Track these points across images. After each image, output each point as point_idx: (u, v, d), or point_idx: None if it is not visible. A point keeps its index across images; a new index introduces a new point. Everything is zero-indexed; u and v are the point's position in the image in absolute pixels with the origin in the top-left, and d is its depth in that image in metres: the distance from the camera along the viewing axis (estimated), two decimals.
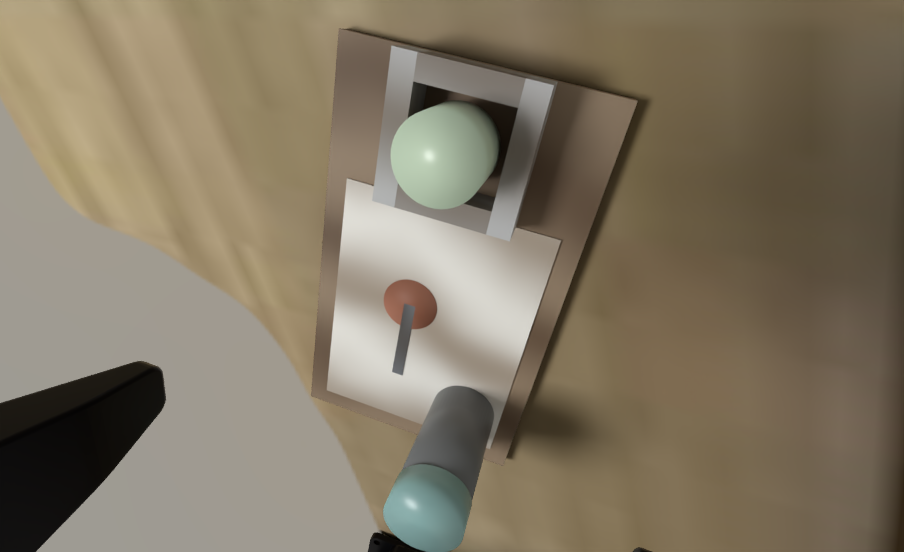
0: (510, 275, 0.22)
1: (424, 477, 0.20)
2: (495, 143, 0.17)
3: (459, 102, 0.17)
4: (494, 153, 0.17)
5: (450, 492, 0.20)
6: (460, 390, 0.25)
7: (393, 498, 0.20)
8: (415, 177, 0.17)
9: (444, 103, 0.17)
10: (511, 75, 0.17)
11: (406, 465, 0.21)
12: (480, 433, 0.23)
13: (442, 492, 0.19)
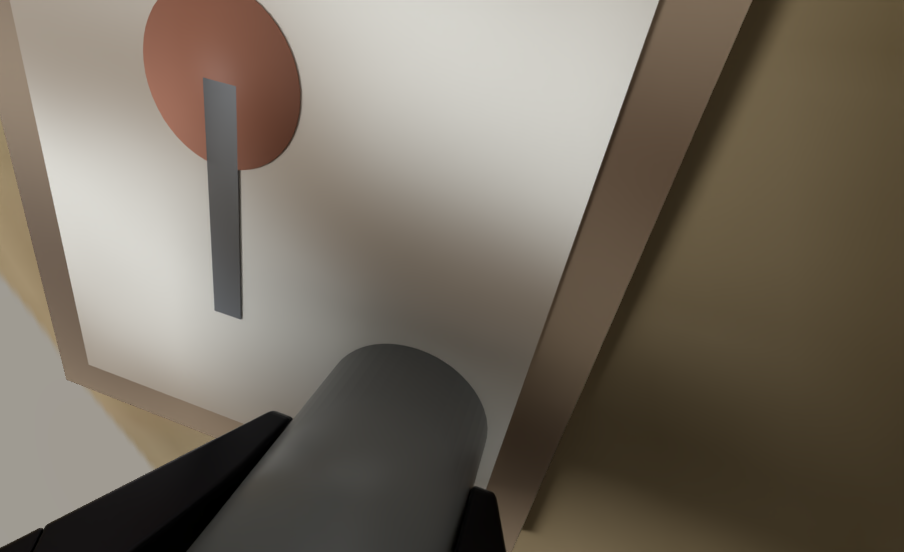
0: None
1: None
2: None
3: None
4: None
5: None
6: (389, 355, 0.09)
7: None
8: None
9: None
10: None
11: None
12: (438, 492, 0.07)
13: None
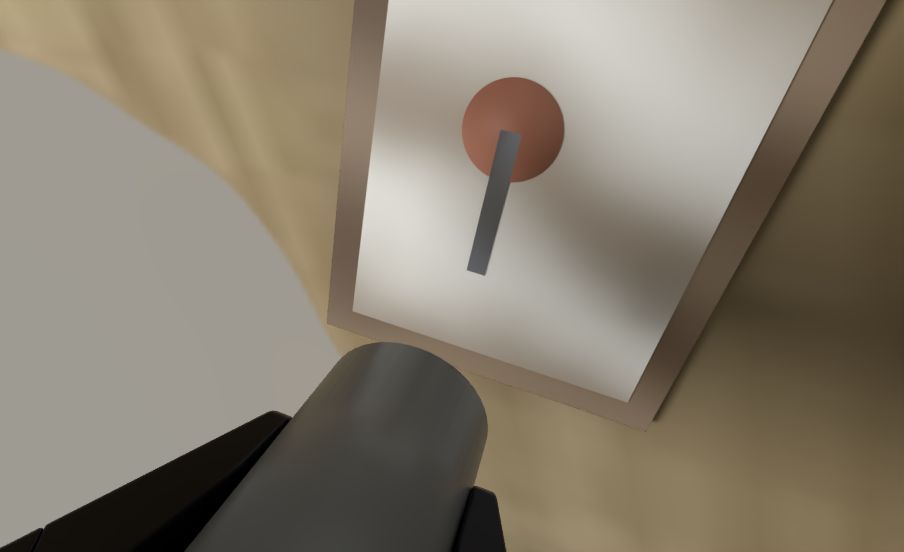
0: (728, 40, 0.11)
1: None
2: None
3: None
4: None
5: None
6: (389, 354, 0.09)
7: None
8: None
9: None
10: None
11: None
12: (438, 491, 0.07)
13: None
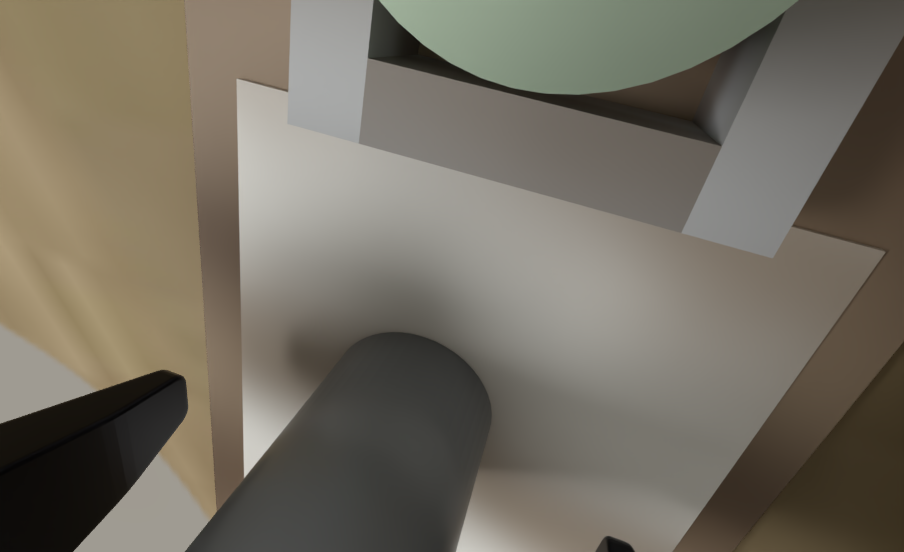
0: (689, 345, 0.08)
1: None
2: None
3: None
4: None
5: None
6: (396, 343, 0.09)
7: None
8: None
9: None
10: None
11: None
12: (445, 470, 0.07)
13: None
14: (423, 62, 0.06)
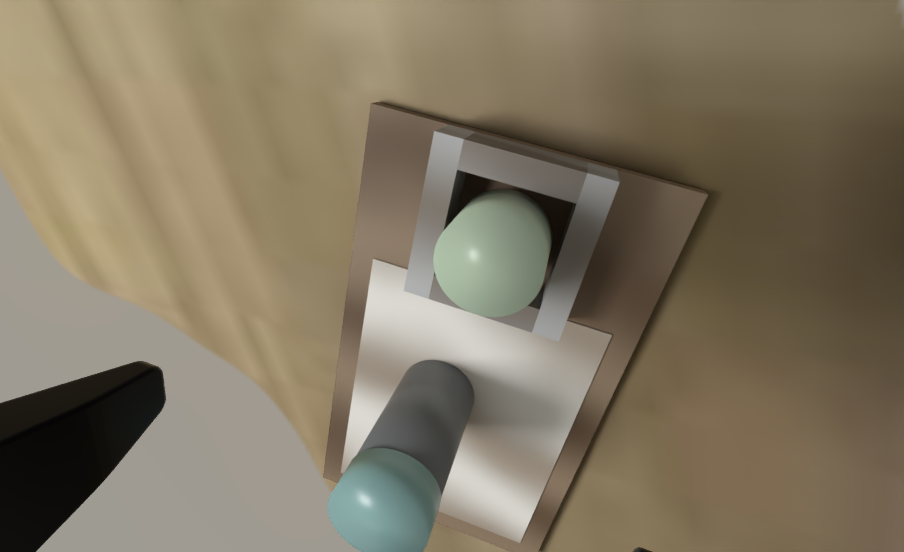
0: (552, 367, 0.20)
1: (379, 463, 0.16)
2: (549, 241, 0.15)
3: (509, 194, 0.15)
4: (549, 253, 0.15)
5: (412, 482, 0.15)
6: (433, 365, 0.21)
7: (339, 490, 0.15)
8: (460, 282, 0.15)
9: (493, 197, 0.15)
10: (570, 169, 0.15)
11: (360, 450, 0.17)
12: (455, 414, 0.19)
13: (401, 482, 0.15)
14: None
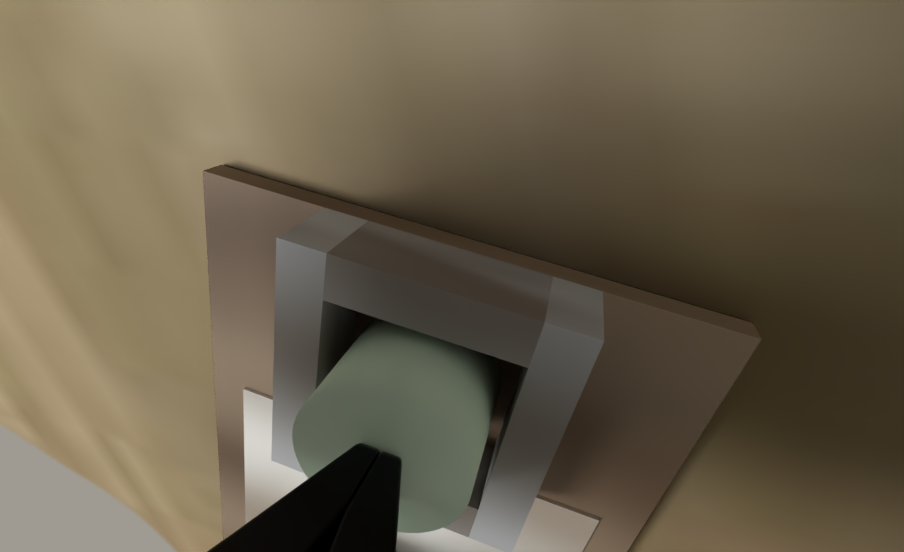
0: None
1: None
2: (491, 398, 0.10)
3: None
4: (489, 422, 0.09)
5: None
6: None
7: None
8: None
9: (396, 332, 0.09)
10: (515, 312, 0.08)
11: None
12: None
13: None
14: None
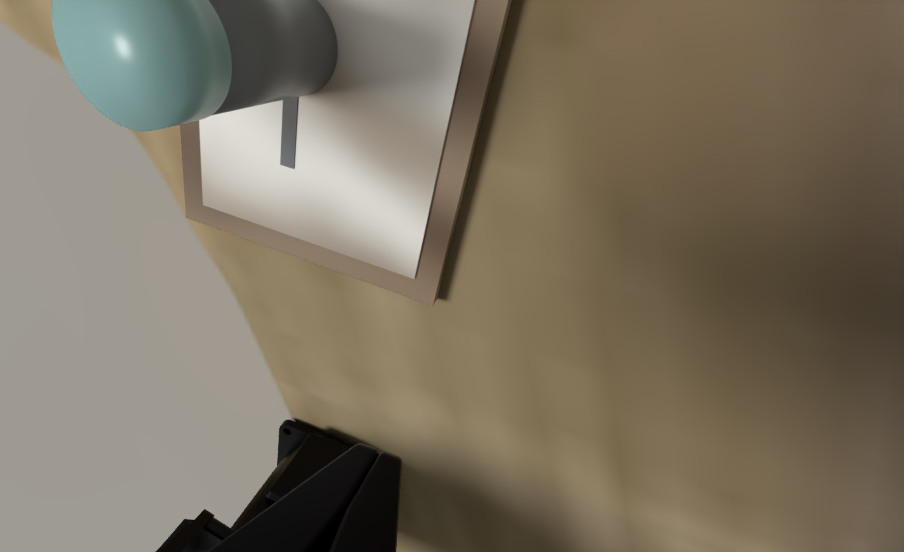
0: None
1: None
2: None
3: None
4: None
5: None
6: None
7: None
8: None
9: None
10: None
11: None
12: (287, 11, 0.14)
13: None
14: None
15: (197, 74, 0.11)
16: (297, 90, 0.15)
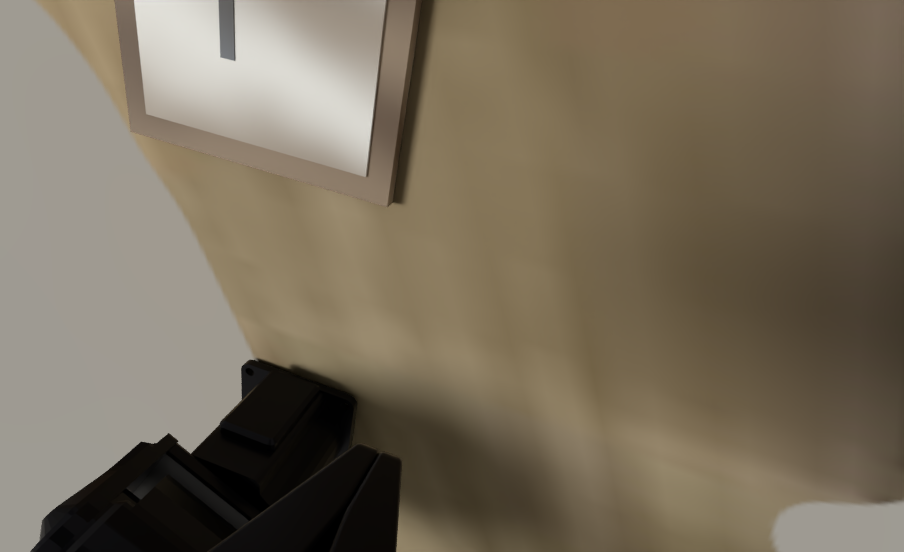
0: None
1: None
2: None
3: None
4: None
5: None
6: None
7: None
8: None
9: None
10: None
11: None
12: None
13: None
14: None
15: None
16: None
